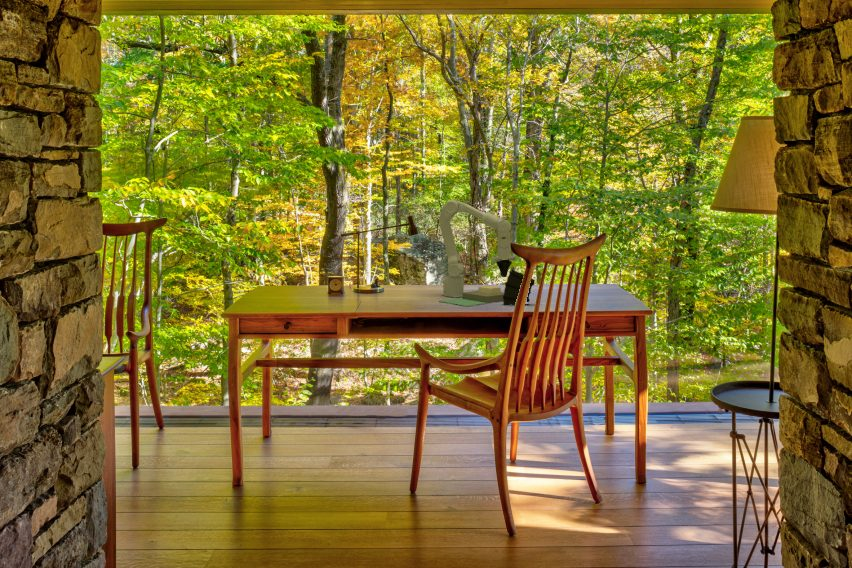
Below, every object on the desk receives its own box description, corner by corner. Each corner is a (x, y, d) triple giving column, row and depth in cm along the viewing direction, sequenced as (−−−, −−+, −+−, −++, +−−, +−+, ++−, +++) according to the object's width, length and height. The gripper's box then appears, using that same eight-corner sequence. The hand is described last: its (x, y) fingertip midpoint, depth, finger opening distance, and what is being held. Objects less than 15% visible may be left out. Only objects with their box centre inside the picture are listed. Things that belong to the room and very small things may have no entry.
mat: (439, 301, 347) (439, 300, 347) (459, 299, 354) (459, 298, 354) (466, 306, 333) (466, 305, 333) (487, 303, 341) (487, 302, 341)
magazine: (495, 299, 341) (511, 268, 339) (523, 313, 341) (539, 282, 338) (495, 301, 338) (511, 269, 335) (523, 314, 337) (539, 283, 335)
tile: (478, 292, 355) (478, 286, 354) (488, 291, 358) (488, 285, 358) (490, 294, 349) (490, 288, 348) (500, 292, 352) (500, 287, 352)
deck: (462, 299, 354) (462, 292, 354) (485, 296, 363) (485, 289, 363) (487, 303, 342) (487, 296, 342) (510, 300, 351) (510, 293, 350)
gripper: (498, 248, 349) (498, 278, 351) (521, 246, 358) (521, 276, 360) (487, 247, 354) (487, 277, 356) (510, 245, 363) (510, 275, 365)
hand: (503, 276), depth 358 cm, fingers closed
